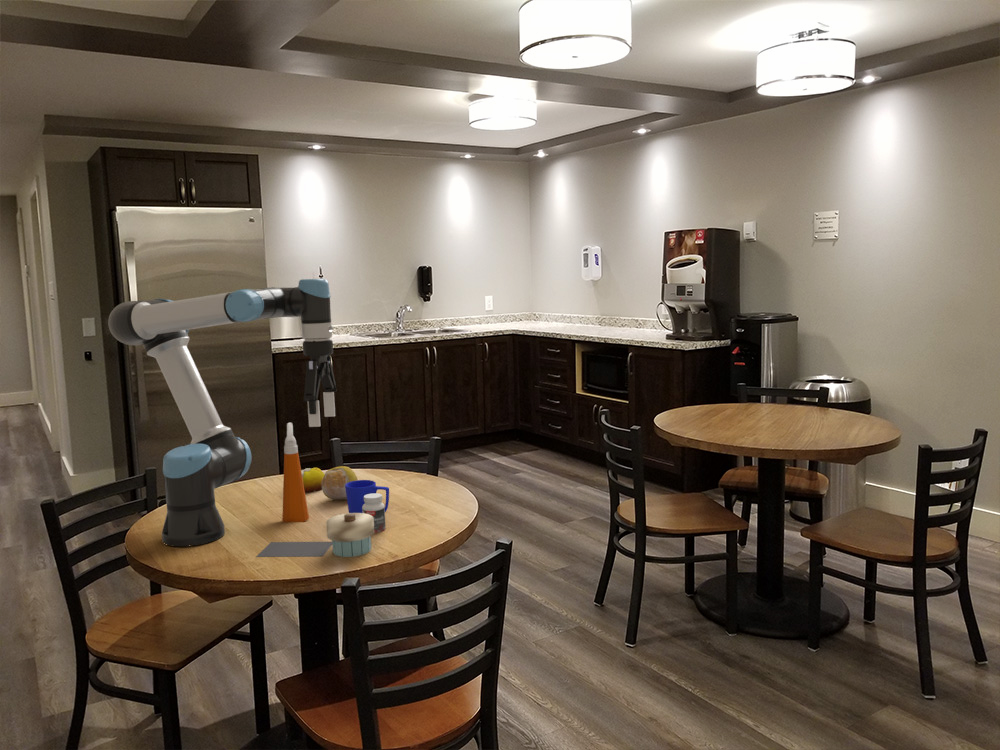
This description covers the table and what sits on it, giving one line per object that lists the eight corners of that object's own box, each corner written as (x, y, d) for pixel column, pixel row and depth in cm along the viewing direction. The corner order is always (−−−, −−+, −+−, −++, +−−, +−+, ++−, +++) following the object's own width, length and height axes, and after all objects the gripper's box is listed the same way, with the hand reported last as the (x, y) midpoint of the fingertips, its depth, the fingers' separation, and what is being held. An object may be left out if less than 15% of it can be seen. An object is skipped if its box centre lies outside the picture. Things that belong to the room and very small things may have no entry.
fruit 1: (314, 480, 254) (316, 458, 252) (330, 495, 247) (333, 473, 245) (282, 487, 247) (284, 464, 244) (298, 502, 240) (301, 479, 237)
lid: (321, 542, 181) (320, 522, 180) (334, 526, 192) (333, 508, 191) (368, 541, 180) (367, 522, 180) (378, 526, 191) (377, 507, 191)
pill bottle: (366, 538, 198) (364, 500, 197) (361, 531, 203) (358, 494, 202) (388, 534, 200) (386, 496, 199) (382, 528, 205) (380, 491, 204)
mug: (385, 525, 208) (383, 488, 206) (342, 523, 210) (340, 487, 209) (395, 515, 215) (393, 480, 214) (354, 514, 218) (352, 479, 217)
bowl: (329, 560, 183) (327, 540, 182) (339, 547, 192) (338, 527, 191) (366, 560, 182) (365, 539, 182) (374, 547, 191) (373, 527, 190)
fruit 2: (328, 495, 238) (326, 463, 237) (363, 495, 237) (361, 462, 236) (317, 505, 228) (315, 471, 227) (353, 505, 227) (351, 471, 225)
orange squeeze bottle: (309, 511, 222) (303, 420, 219) (309, 522, 212) (302, 427, 208) (283, 513, 220) (276, 421, 217) (282, 525, 210) (275, 429, 207)
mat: (256, 560, 184) (255, 556, 184) (271, 545, 194) (271, 542, 194) (322, 560, 183) (322, 556, 183) (334, 545, 193) (334, 541, 193)
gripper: (317, 343, 187) (323, 430, 190) (344, 335, 212) (349, 412, 215) (286, 344, 188) (292, 431, 191) (317, 335, 212) (322, 412, 215)
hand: (322, 421), depth 203 cm, fingers open, 13 cm apart
